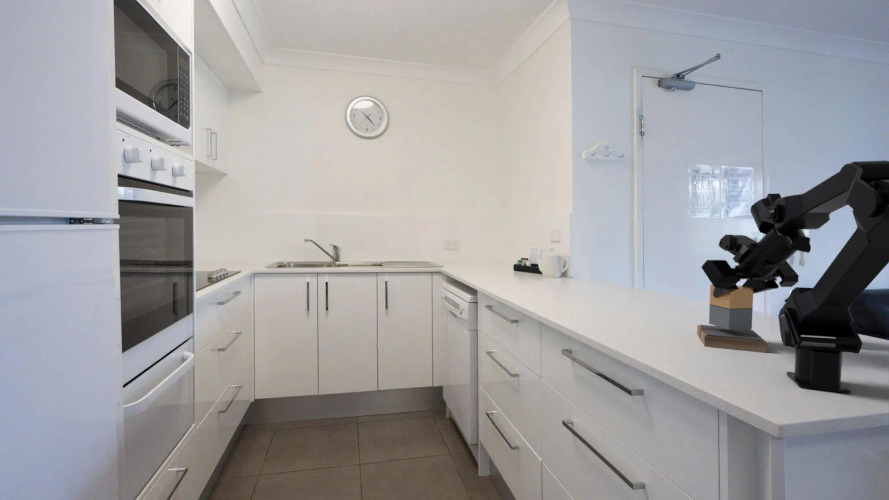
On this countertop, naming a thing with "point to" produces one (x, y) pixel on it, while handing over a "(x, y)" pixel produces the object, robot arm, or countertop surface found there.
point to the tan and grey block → (732, 309)
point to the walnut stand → (731, 338)
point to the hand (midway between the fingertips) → (726, 296)
